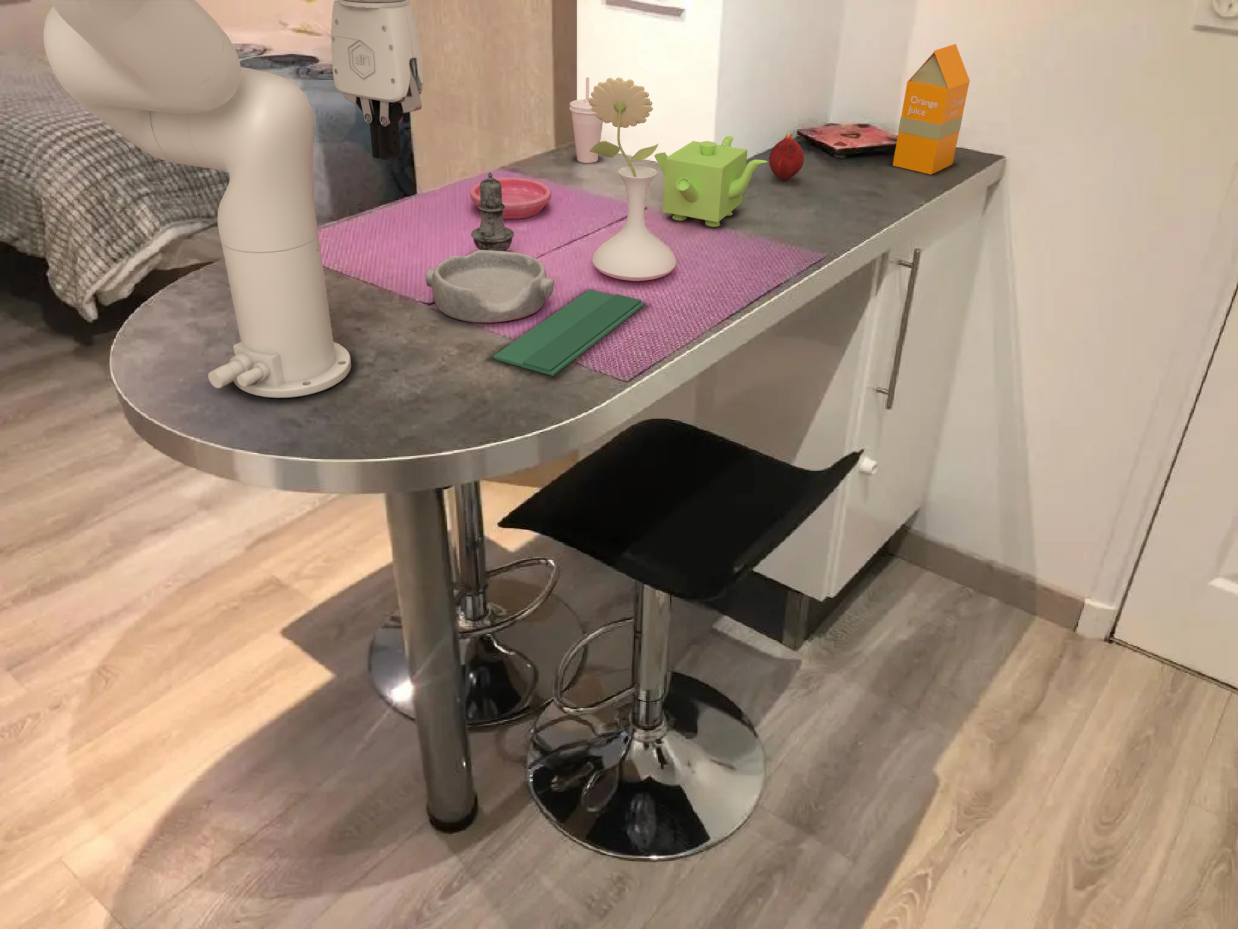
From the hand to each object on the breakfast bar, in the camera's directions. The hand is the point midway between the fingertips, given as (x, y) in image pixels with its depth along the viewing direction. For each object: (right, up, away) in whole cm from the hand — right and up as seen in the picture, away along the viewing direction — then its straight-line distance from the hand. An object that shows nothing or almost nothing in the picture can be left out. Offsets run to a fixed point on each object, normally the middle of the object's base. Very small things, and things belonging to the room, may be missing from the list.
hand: (386, 156), depth 122 cm
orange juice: (+83, +17, +61) cm, 105 cm away
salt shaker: (+11, -9, +19) cm, 23 cm away
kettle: (+42, +1, +36) cm, 55 cm away
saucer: (+11, +2, +36) cm, 38 cm away
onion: (+56, +11, +51) cm, 77 cm away
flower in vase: (+29, -11, +16) cm, 35 cm away
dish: (+12, -17, +6) cm, 21 cm away
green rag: (+22, -21, 0) cm, 31 cm away
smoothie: (+22, +17, +58) cm, 65 cm away
